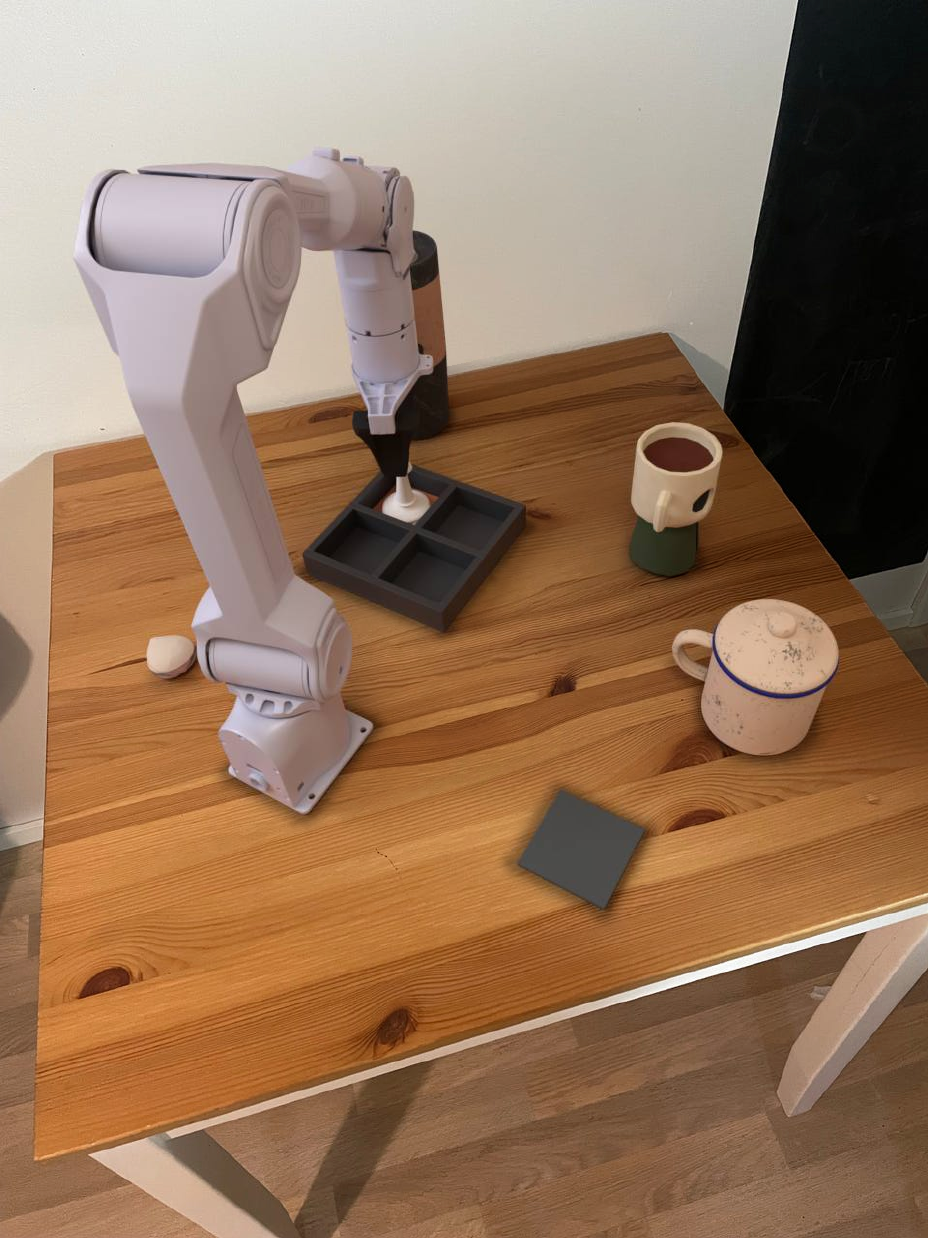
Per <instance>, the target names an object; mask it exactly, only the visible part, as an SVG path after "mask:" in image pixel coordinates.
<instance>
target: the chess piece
mask: <svg viewBox="0 0 928 1238" xmlns="http://www.w3.org/2000/svg"><path fill="white" fill-rule="evenodd" d="M411 464H412V463H411V462H410V461H409V464H408V472H407V474H408V473H409V472H410V471H411V470H412V465H413V464H412V465H411ZM430 507H431V505H430V501H429V499H428V498H427V496H426V495H424V494H423V493H421V492H419V491H416V490H411V487H410V483H409V480H408V476H407V475H406V477H397V490H396V492H394V493H393V494H391V495H389V496H388V497H387V498H386V499H385V501H384V502H383V505H382V513H384V514H386V515H389V516H392V517H394V518H397V519H399V520H402V521H405V522H407V523H410V524H413V525H415V524H416V523H417V522H418V520H419V519H420V518H421V517H422V516H423V515H424V513H425V512H426V511H427V510H428V509H429V508H430Z"/></svg>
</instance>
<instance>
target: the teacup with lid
mask: <svg viewBox="0 0 928 1238" xmlns="http://www.w3.org/2000/svg"><path fill="white" fill-rule="evenodd" d="M824 621H825V620H823V619H822V618H821V617H820V616H818V615H817V614H816V613H814V612H813V611H811V610H809V609H808V608H806V607H803V606H801V605H799V604H797V603H795V602H790V601H786V600H781V599H776V598H774V599H773V598H762V599H754V600H750V601H746V602H744V603H740V604H738V605H736V606H735V607H733V608H731V609H730V610H729V611H728V612H727V613H725V615H723V616H722V618H720V620H719V621H718V623H717V625H716V626H715V628H714V631H713V633H711V632H708V631H705V630H702V629H693V628H692V629H685V630H682V631H680V632H678V633H677V635H676V636H675V638H674V639H673V642H672V645H671V653H672V657H673V659H674V661H675V663H676V665H677V666H678V667H679V668H680V669H681V670H682V671H683V672H684V673H685V674H687V675H689V676H691V677H692V678H694V679H697V680H699V681H702V682H704V686H703V689H702V695H701V699H700V708H701V709H700V711H701V714H702V717H703V720H704V722H705V724H706V726H707V727H708V729H709V731H711V733H712V734H713V735H714V736H715V737H716V739H718V740H719V741H720V742H721V743H723V744H725V745H726V746H728V747H730V748H732V749H733V750H736V751H738V752H740V753H744V754H748V755H754V756H774V755H779V754H783V753H786V752H788V751H790V750H792V749H793V748H795V747H796V746H798V745H799V744H800V743H801V742H802V741H803V740H804V739H805V737H806V736H807V734H808V733H809V730H810V727H811V724H812V722H813V720H814V718H815V715H816V713H817V711H818V708H819V705H820V703H821V700H822V698H823V697H824V693H825V690H826V688H827V686H828V684H830V682H831V681H832V680H833V678H834V677H835V675H836V673H837V671H838V668H839V665H840V652H839V645H838V642H837V639H836V637H835V635H834V633H833V632H832V630H831V628H830V627H829V626H828V625H827V624H826V622H824ZM688 644H692V645H698V646H701V647H705V648H707V649H710V650H712V651H711V656H710V661H709V665H708V667H707V666H705V665H702V664H700V663H698V662H696V661H695V660H693V659H692V658H691V657H690V656H689V655H688V653H687V652H686V650H685V648H684V645H688Z"/></svg>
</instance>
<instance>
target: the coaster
mask: <svg viewBox="0 0 928 1238" xmlns="http://www.w3.org/2000/svg"><path fill="white" fill-rule="evenodd" d="M645 832H646V831H645V828H643V827H641V826H639V825H637V824H634V823H632V822H630V821H628V820H626V819H624V818H622V817H620V816H618V815H616V814H614V813H612V812H610V811H608V810H605V809H603V808H601V807H599V806H597V805H595V804H593V803H590V802H588V801H586V800H584V799H582V798H580V797H578V796H576V795H574V794H572V793H570V792H567V791H565V790H563V789H560V790H559V791H558V793H557V794H556V797H555V798H554V799H553V801H552V803H551V805H550V807H549V808H548V810H547V811H546V813H545V815H544V817H543V818H542V820H541V821H540V823H539V825H538V827H537V829H536V830H535V832H534V833H533V835H532V837H531V839H530V840H529V842H528V844H527V846H526V847H525V849H524V851H523V852H522V854H521V856H520V858H519V859H518V861H517V863H516V865H517V866H518V867H519V868H522V869H524V870H525V871H528V872H529V873H531V874H533V875H535V876H537V877H539V878H541V879H543V880H545V881H547V882H549V883H550V884H553V885H554V886H556V887H558V888H560V889H562V890H564V891H566V892H568V893H570V894H571V895H574V896H575V897H577V898H579V899H581V900H583V901H585V902H587V903H589V904H590V905H593V906H594V907H597V908H599V909H601V910H603V911H605V910H606V909H607V906H608V905H609V902H610V900H611V898H612V896H613V894H614V893H615V891H616V888H617V887H618V885H619V883H620V881H621V879H622V877H623V875H624V873H625V871H626V869H627V867H628V865H629V863H630V861H631V860H632V857H633V855H634V853H635V851H636V849H637V847H638V845H639V844H640V843H641V842H640V841H641V839H642V837H643V836H644V833H645Z"/></svg>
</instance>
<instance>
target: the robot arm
mask: <svg viewBox="0 0 928 1238" xmlns="http://www.w3.org/2000/svg"><path fill="white" fill-rule="evenodd" d="M310 153H311V154H310V156H309V155H308V156H304V157H301V158H299V159H297V160H295V161H294V162H293V163H291V164H290V165H289V166H288V167H287V168H286V169H285V170H283V169H278V168H274V167H269V166H264V165H250V164H233V163H220V162H200V163H178V164H176V163H175V164H159V165H158V164H156V165H147V166H143V167H137V169H136V171H137V173H132V172H129V171H128V170H125V169H119V168H109V169H105V170H103V171H100V172H98V174H96V175H95V176H94V177H93V179H92V180H91V181H90V182H89V184H88V186H87V188H86V191H85V193H84V196H83V200H82V202H81V206H80V210H79V219H78V225H77V232H76V237H75V243H74V250H73V254H72V259H73V261H74V263H75V265H76V268H77V270H78V273H79V275H80V278H81V280H82V282H83V284H84V287H85V289H86V291H87V294H88V296H89V298H90V302H91V303H92V305H93V308H94V310H95V313H96V316H97V317H98V320H99V322H100V324H101V327H102V329H103V332H104V334H105V336H106V338H107V341H108V343H109V346H110V348H111V350H112V352H113V353H114V354H115V355H117V356H118V357H119V361H120V366H121V370H122V374H123V378H124V383H125V387H126V391H127V394H128V397H129V401H130V403H131V406H132V408H133V410H134V413H135V416H136V417H137V420H138V422H139V425H140V427H141V430H142V431H143V434H144V437H145V439H146V441H147V443H148V446H149V447H150V449H151V450H150V451H151V452H152V454H153V457H154V458H155V462H156V464H157V467H158V469H159V472H160V473H161V476H162V478H163V480H164V482H165V485H166V487H167V489H168V492H169V494H170V496H171V499H172V501H173V503H174V506H175V508H176V511H177V513H178V515H179V517H180V520H181V523H182V524H183V526H184V529H185V531H186V533H187V536H188V538H189V540H190V543H191V545H192V548H193V550H194V552H195V554H196V557H197V560H198V561H199V564H200V566H201V568H202V571H203V573H204V575H205V577H206V580H207V582H208V584H209V587H208V588H207V589H206V591H205V592H204V593H203V596H202V597H201V599H200V601H199V602H198V605H197V607H196V610H195V613H194V616H193V619H192V622H191V625H190V627H191V629H192V631H193V633H194V636H195V638H196V654H197V655H196V658H197V661H198V665H199V667H200V670H201V672H202V674H203V676H204V677H205V679H207V680H208V681H209V682H212V683H225V685H226V687H227V690H228V692H229V694H232V695H235V696H236V698H235V700H234V705H233V707H232V709H231V711H230V713H229V715H228V717H227V718H226V719H225V721H224V722H223V724H222V725H221V727H220V728H219V730H218V731H217V737H218V740H219V742H220V745H221V746H222V749H223V751H224V753H225V755H226V757H227V759H228V761H229V764H230V765H229V767H228V773H229V775H230V776H232V777H233V778H236V779H237V780H239V781H240V782H243V783H245V784H246V785H248V786H250V787H252V788H254V789H255V790H257V791H259V792H261V793H262V794H264V795H266V796H268V797H270V798H272V799H273V800H276V801H278V802H279V803H281V804H283V805H284V806H286V807H288V808H289V809H291V810H293V811H295V812H297V813H299V814H301V815H307V814H309V813H310V812H311V811H312V810H313V809H314V807H315V806H316V804H317V803H318V802H319V801H320V799H321V798H322V797H323V795H324V794H325V793H326V791H327V790H328V789H329V788H330V786H331V785H332V783H334V781H335V780H336V778H337V777H338V776H339V775H340V773H341V772H342V771H343V769H344V768H345V767H346V765H348V763H349V761H350V760H351V759H352V757H353V756H354V755H355V754H356V753H357V751H358V749H360V747H361V745H362V744H363V743H364V742H365V741H366V739H367V738H368V736H370V734H371V733H372V731H373V729H374V724H373V722H372V721H370V720H368V719H366V718H364V717H362V716H360V715H358V714H356V713H354V712H352V711H350V710H348V709H346V708H345V703H344V699H343V697H342V692H341V690H342V689H343V687H344V686H345V684H346V681H347V678H348V676H349V672H350V669H351V664H352V659H353V651H354V648H353V647H354V641H353V640H354V638H353V633H352V629H351V627H350V625H349V624H348V621H347V618H345V617H344V616H343V615H341V614H340V613H339V611H338V609H337V606H336V603H335V599H333V598H332V597H331V596H329V594H327V593H325V592H324V591H322V590H321V589H319V588H317V587H316V586H314V585H313V584H310V583H309V582H307V581H306V580H304V579H303V578H301V577H299V576H298V575H297V574H296V572H295V569H294V567H293V563H292V560H291V557H290V553H289V550H288V548H287V545H286V544H287V543H286V541H285V538H284V535H283V532H282V528H281V524H280V522H279V519H278V516H277V513H276V509H275V505H274V502H273V500H272V496H271V493H270V490H269V487H268V484H267V481H266V478H265V474H264V472H263V471H264V470H263V469H262V465H261V462H260V458H259V455H258V452H257V449H256V446H255V444H254V443H255V442H254V440H253V436H252V433H251V430H250V427H249V424H248V419H247V417H246V414H245V411H244V408H243V404H242V401H241V398H240V395H239V392H238V385H239V384H241V383H243V382H245V381H247V380H249V379H250V378H253V377H254V376H257V375H258V374H260V373H262V372H264V371H266V370H267V369H268V368H269V365H270V362H271V359H272V356H273V352H274V349H275V347H276V346H277V343H278V340H279V337H280V334H281V330H282V327H283V324H284V321H285V318H286V315H287V311H288V308H289V306H290V302H291V299H292V296H293V294H294V291H295V289H296V286H297V283H298V280H299V276H300V273H301V270H300V269H301V267H302V266H301V265H302V251H303V250H302V248H303V249H306V250H308V251H312V252H332V253H333V258H334V263H335V264H334V265H335V270H336V276H337V282H338V289H339V293H340V299H341V305H342V311H343V317H344V322H345V327H346V334H347V340H348V347H349V351H350V357H351V363H350V371H351V376H352V379H353V381H354V383H355V386H356V387H357V390H358V392H359V394H360V396H361V398H362V401H363V402H364V405H365V407H366V409H365V410H362V409H361V410H353V412H352V419H351V425H352V430H353V432H354V434H355V436H357V437H358V438H359V439H360V440H361V441H363V442H364V444H365V445H366V447H368V448H369V450H370V451H371V453H372V455H373V457H374V459H375V462H376V463H377V466H378V468H379V470H380V471H381V472H382V474H383V475H384V477H406V475H407V472H408V464H409V462H410V449H411V445H412V441H413V440H412V438H413V436H414V435H415V433H416V431H417V428H418V424H419V413H413V400H414V388H415V382H416V381H417V379H418V378H419V377H420V376H421V375H429V374H431V373H432V372H433V357H432V356H431V355H424V349H423V346H422V345H421V344H418V343H417V334H416V325H415V316H414V306H413V297H412V287H411V278H410V269H409V264H410V262H411V261H412V259H413V250H414V247H413V230H414V219H415V193H414V191H413V186H412V183H411V180H410V179H409V177H408V176H406V175H401V172H400V169H398V168H397V167H396V166H395V167H393V166H392V167H391V166H377V165H365V160H364V158H363V157H361V156H357V155H343V156H341V152H340V150H339V149H336V148H331V147H314V146H313V147H312V148H311V152H310ZM362 731H364V732H362ZM311 797H314V798H312V799H311Z"/></svg>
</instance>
